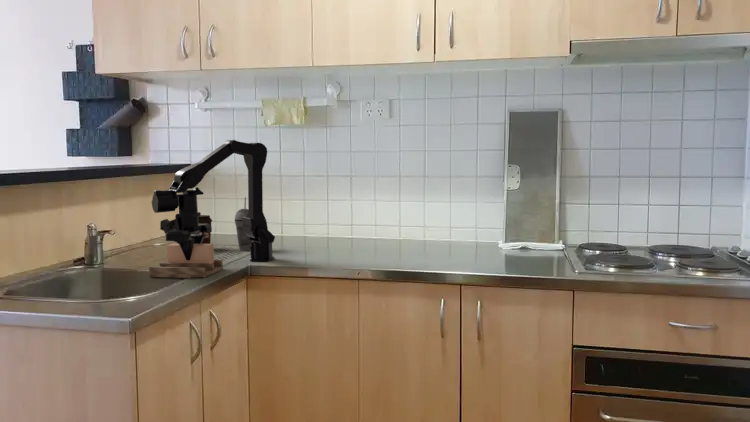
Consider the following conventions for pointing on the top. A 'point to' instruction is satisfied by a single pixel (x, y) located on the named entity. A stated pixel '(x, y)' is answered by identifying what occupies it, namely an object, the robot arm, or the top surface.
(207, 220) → the coffee cup
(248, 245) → the beverage cup
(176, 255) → the pink rectangular block
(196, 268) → the drying rack
